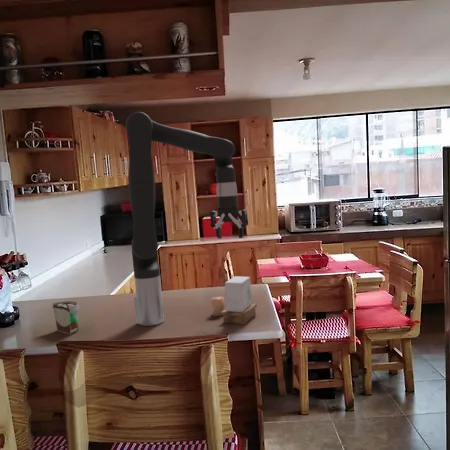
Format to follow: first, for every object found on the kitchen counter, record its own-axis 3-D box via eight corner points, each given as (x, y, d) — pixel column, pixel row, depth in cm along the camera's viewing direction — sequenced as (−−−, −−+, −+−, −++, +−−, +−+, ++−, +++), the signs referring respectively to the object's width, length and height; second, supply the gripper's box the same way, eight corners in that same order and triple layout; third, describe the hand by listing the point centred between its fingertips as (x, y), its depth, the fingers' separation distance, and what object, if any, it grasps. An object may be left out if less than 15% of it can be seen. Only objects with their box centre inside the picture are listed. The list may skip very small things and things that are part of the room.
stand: (221, 323, 171) (221, 312, 171) (234, 313, 182) (233, 302, 182) (245, 324, 168) (244, 313, 167) (257, 314, 179) (256, 303, 178)
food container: (88, 330, 174) (85, 303, 173) (73, 335, 169) (70, 307, 168) (70, 325, 182) (67, 299, 181) (55, 330, 177) (52, 303, 176)
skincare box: (243, 312, 168) (241, 282, 167) (226, 311, 171) (223, 282, 170) (252, 304, 178) (250, 276, 177) (236, 303, 180) (234, 275, 179)
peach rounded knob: (211, 316, 181) (209, 300, 180) (213, 312, 185) (211, 297, 185) (224, 315, 180) (222, 299, 179) (226, 311, 185) (224, 296, 184)
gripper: (248, 193, 180) (251, 236, 182) (213, 195, 186) (217, 237, 188) (241, 194, 173) (244, 239, 175) (205, 196, 179) (208, 240, 181)
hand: (230, 238), depth 181 cm, fingers open, 8 cm apart
